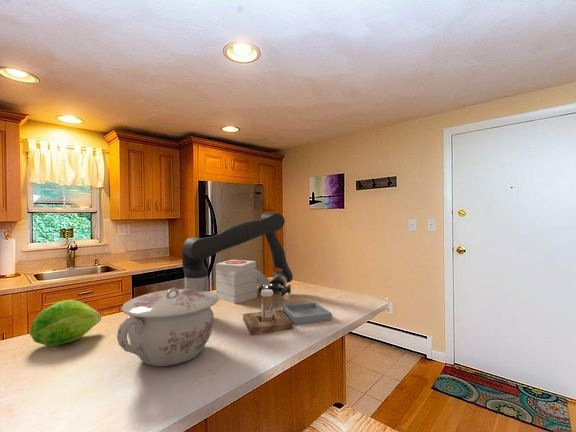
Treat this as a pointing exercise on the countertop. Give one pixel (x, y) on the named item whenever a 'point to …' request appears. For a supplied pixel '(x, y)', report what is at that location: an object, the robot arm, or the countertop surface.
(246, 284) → the pizza boxes
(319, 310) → the parts tray
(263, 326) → the socket board
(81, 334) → the green papaya
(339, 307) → the countertop surface
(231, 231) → the robot arm
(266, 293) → the spice jar
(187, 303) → the chamber pot
